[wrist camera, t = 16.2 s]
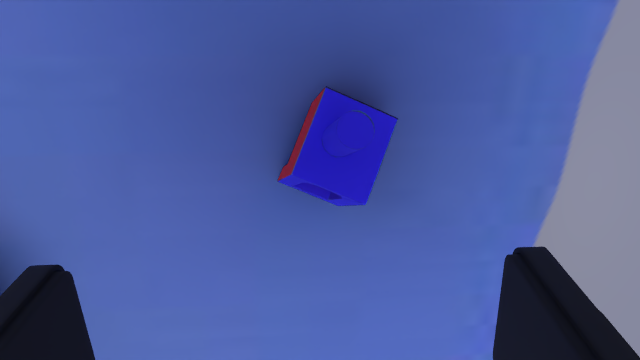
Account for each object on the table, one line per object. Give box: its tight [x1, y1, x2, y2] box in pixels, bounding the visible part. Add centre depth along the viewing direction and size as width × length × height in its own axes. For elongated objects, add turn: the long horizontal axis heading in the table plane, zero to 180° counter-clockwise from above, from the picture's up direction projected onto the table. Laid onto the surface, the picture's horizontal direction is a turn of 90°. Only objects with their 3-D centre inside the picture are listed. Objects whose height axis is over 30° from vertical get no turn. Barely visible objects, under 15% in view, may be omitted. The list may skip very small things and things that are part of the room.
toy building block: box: [278, 87, 398, 206], centre depth 23 cm, size 4×4×8 cm
